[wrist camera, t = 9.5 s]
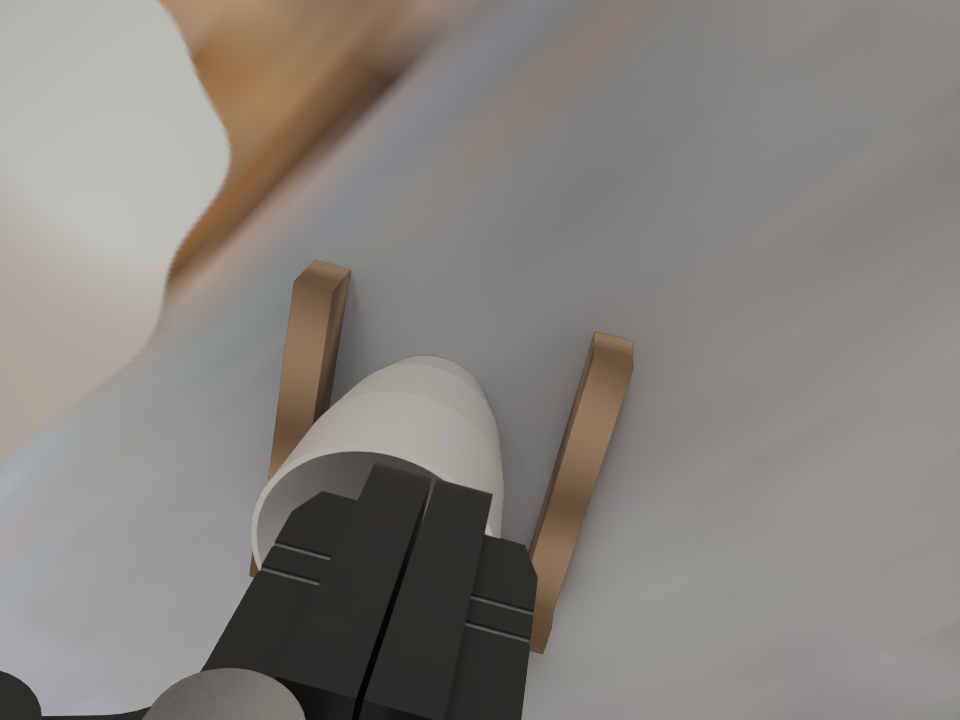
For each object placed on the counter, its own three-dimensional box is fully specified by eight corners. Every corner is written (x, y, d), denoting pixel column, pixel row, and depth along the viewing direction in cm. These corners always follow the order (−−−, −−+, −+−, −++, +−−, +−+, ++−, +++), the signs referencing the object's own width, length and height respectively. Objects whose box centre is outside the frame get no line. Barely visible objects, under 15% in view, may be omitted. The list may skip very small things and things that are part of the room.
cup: (310, 343, 37) (212, 470, 28) (495, 300, 35) (454, 423, 26) (373, 503, 40) (303, 665, 31) (547, 473, 38) (526, 636, 29)
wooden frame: (314, 260, 35) (284, 291, 32) (631, 341, 35) (633, 380, 32) (277, 528, 41) (249, 576, 38) (548, 599, 41) (543, 654, 38)
